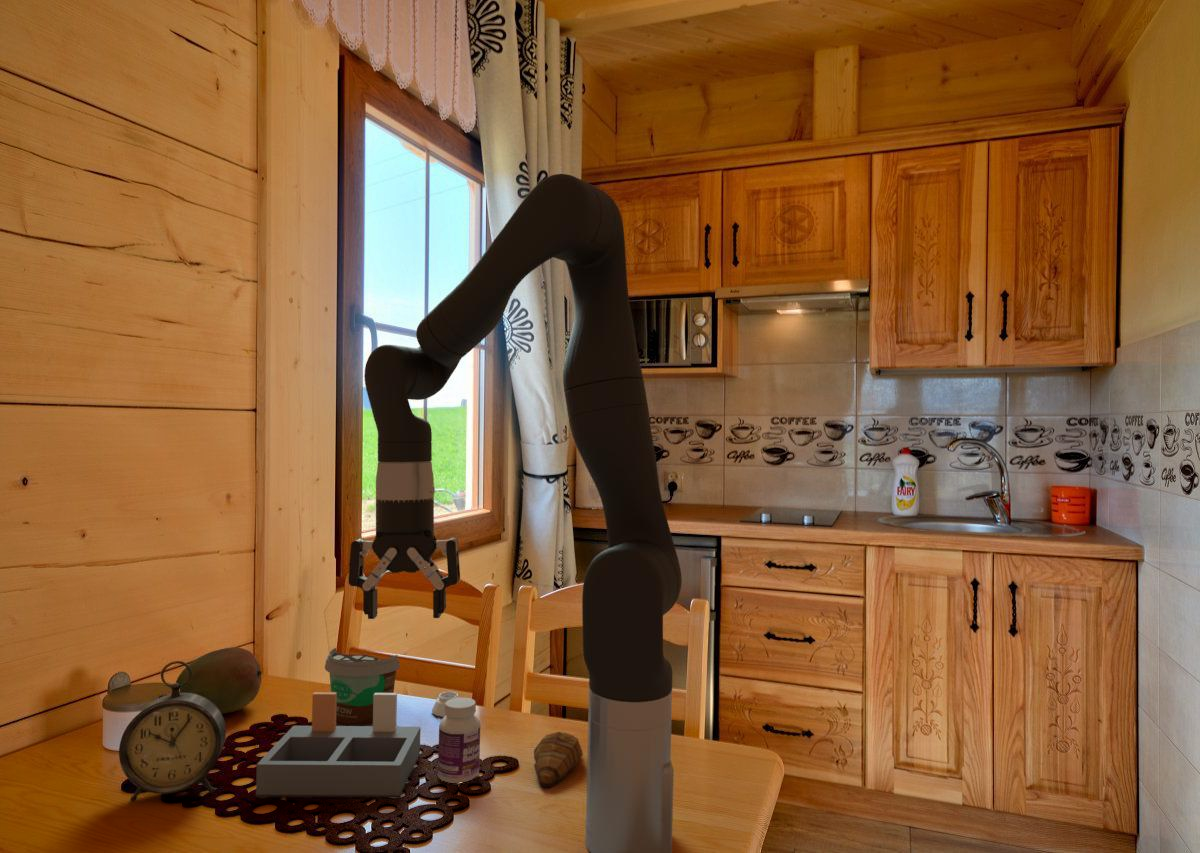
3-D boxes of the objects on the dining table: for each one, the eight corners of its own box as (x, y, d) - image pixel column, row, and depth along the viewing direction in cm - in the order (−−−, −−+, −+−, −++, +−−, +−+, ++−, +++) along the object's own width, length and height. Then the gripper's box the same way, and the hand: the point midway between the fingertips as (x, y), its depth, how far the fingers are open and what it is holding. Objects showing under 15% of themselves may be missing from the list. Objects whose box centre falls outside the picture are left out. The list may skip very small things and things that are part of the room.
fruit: (253, 723, 114) (255, 658, 114) (161, 730, 111) (163, 663, 111) (266, 697, 125) (268, 637, 125) (183, 702, 122) (184, 641, 122)
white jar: (436, 707, 123) (428, 718, 118) (436, 689, 123) (429, 699, 118) (466, 708, 123) (460, 719, 118) (467, 690, 123) (460, 701, 118)
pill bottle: (470, 787, 95) (472, 711, 95) (431, 783, 96) (432, 707, 96) (485, 769, 100) (486, 697, 100) (447, 764, 101) (449, 693, 101)
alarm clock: (116, 808, 88) (119, 670, 88) (131, 787, 93) (134, 657, 93) (218, 798, 91) (221, 664, 91) (227, 778, 96) (230, 651, 96)
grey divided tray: (419, 755, 104) (421, 690, 104) (399, 797, 92) (401, 724, 92) (292, 754, 103) (294, 689, 103) (255, 797, 91) (257, 723, 91)
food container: (306, 723, 114) (307, 657, 114) (331, 709, 120) (333, 646, 120) (376, 734, 111) (377, 666, 111) (399, 719, 117) (400, 655, 117)
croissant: (572, 795, 94) (572, 755, 94) (520, 789, 96) (520, 750, 96) (591, 750, 108) (592, 715, 108) (545, 745, 109) (546, 711, 109)
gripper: (342, 498, 96) (342, 625, 96) (454, 497, 97) (454, 623, 96) (359, 494, 104) (359, 611, 103) (462, 493, 104) (463, 610, 104)
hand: (405, 617), depth 100 cm, fingers open, 8 cm apart
